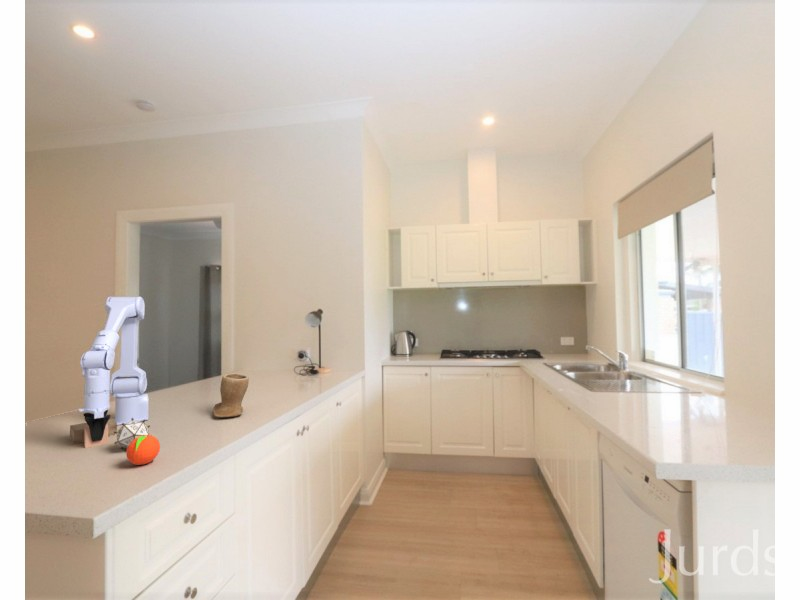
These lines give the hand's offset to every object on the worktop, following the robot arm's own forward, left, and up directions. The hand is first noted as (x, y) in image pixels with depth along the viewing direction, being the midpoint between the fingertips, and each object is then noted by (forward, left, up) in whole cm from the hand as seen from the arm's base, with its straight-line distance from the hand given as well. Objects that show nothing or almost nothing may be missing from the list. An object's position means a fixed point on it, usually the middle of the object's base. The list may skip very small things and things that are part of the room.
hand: (96, 438), depth 105 cm
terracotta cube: (0, 0, -1) cm, 1 cm away
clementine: (-7, +28, -2) cm, 29 cm away
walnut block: (0, -9, -2) cm, 9 cm away
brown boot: (-39, -4, -2) cm, 39 cm away
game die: (-7, +13, -2) cm, 15 cm away
